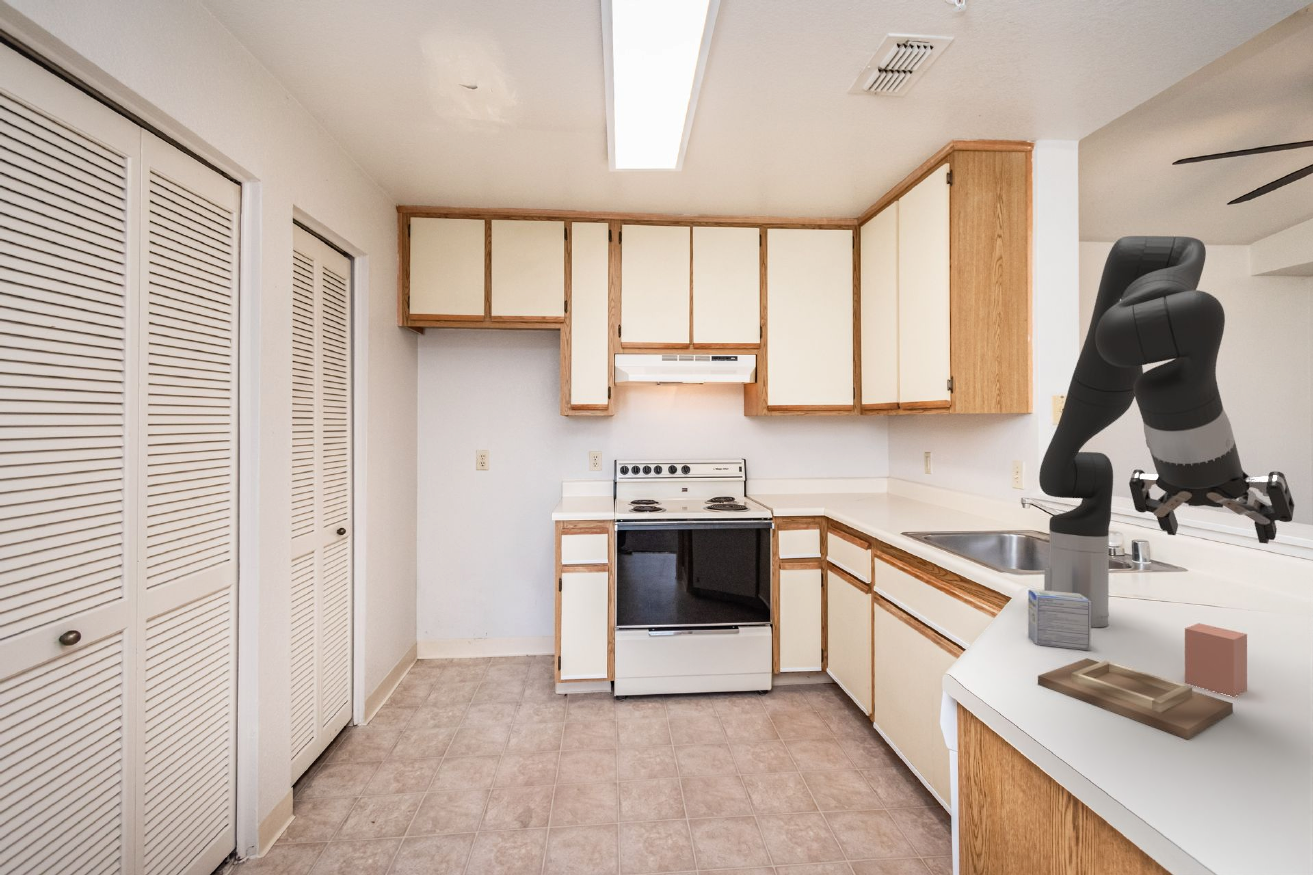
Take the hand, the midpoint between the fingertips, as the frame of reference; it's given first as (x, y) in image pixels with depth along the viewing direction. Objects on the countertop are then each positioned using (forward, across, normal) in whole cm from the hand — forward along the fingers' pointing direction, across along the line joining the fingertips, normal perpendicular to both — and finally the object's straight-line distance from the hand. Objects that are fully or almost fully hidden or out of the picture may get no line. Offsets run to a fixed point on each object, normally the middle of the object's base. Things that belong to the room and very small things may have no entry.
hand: (1216, 534), depth 71 cm
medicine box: (+22, +21, +9) cm, 32 cm away
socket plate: (+13, +8, +20) cm, 25 cm away
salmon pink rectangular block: (+23, +2, +9) cm, 24 cm away
